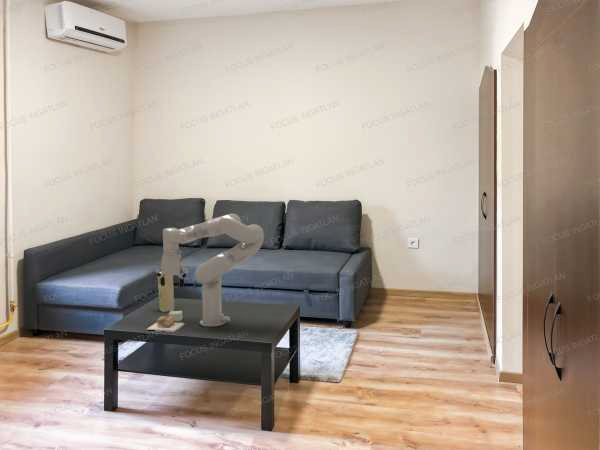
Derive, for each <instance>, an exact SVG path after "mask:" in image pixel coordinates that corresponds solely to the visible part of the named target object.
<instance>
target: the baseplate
mask: <svg viewBox="0 0 600 450" xmlns="http://www.w3.org/2000/svg"><path fill="white" fill-rule="evenodd" d="M184 326H185V323H184V322H174V325H173V326H171V327H170V328H161V327H157V322H155V323H154V324H151V326H149V327H147V329H146V331H147V330H155V331H154V332H161V331H165V333H175V332H177V331H178V330H179V329H181V328H182V327H184Z"/></svg>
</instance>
